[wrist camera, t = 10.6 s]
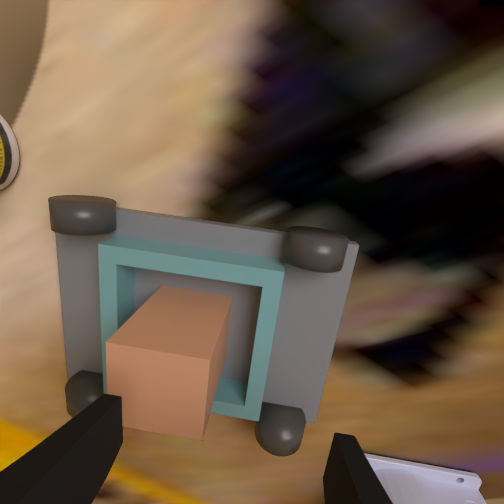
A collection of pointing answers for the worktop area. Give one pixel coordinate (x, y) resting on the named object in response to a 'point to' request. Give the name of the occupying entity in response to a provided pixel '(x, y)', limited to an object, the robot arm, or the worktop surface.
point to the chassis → (210, 281)
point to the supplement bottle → (7, 154)
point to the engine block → (170, 361)
